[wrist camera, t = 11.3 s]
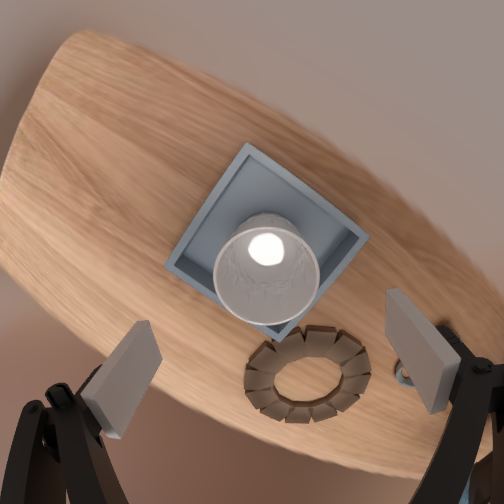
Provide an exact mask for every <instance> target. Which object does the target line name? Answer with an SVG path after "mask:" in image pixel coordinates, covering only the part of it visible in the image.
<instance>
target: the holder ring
mask: <svg viewBox="0 0 504 504" xmlns="http://www.w3.org/2000/svg"><path fill="white" fill-rule="evenodd" d="M272 344H273V345H272ZM272 344H270V343H268V342H267V341H265V342H264V343H263V344H262V345H261V347H260V348H259V349H258V350H257V351H256V352H255V353H254V354H253V355H252V356H251V357H250V358H249V363H248V364H246V373H245V382H244V389H245V394H246V396H247V397H248V399H249V400H250V402H251V403H252V405H253V406H254V407H255V409H260V413H262V414H264V415H266V416H268V417H270V418H273V419H275V420H277V421H279V422H280V421H281V420H282V419H284V418H285V423H306V424H309V421H310V419H311V417H312V419H313V420H314V422H319V421H322V420H325V419H328V418H331V417H334V416H337V411H336V410H339V411H341V412H344V411H345V410H346V409H348V408H349V407H350V406H351V405H352V404H354V403H355V402H356V401H357V400H358V399H360V396H359V394H364V391H365V389H366V387H367V384H368V382H369V380H370V377H371V373H370V371H371V366H370V363H369V359H368V356H367V352H366V350H365V348H364V347H363V346H362V344H361V342H359V341H358V340H356V339H355V338H353V337H352V336H350V335H349V334H347V333H346V332H344V331H343V330H341V331H340V332H339V333H338V334H337V331H336V329H335V328H333V327H317V326H307V327H306V331H305V336H303V334H302V332H301V330H300V328H299V327H297V328H295V329H292V330H291V331H290V332H289V333H288V334H287V336H286V337H285V338H284V339H283V340H282V341H281V342H280V343H279V342H278V341H276V340H274V339H273V338H272ZM304 357H323V358H327V359H329V360H331V361H333V362H334V363H336V364H338V365H339V366H340V367H341V370H342V373H343V374H342V377H341V380H340V383H339V385H338V387H337V388H335V389H334V390H333V391H332V392H331V393H330V394H328V395H327V396H326V397H323V398H320V399H317V400H314V401H311V402H299V401H291V400H289V399H287V398H285V397H283V396H281V395H279V393H278V392H277V390H276V388H275V387H274V385H273V384H274V378H275V375H276V374H277V373H278V372H279V371H280V370H281V369H282V368H283V367H284V366H285V365H286V364H287V363H290V362H293V361H296V360H298V359H301V358H304Z"/></svg>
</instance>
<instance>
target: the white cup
mask: <svg viewBox="0 0 504 504" xmlns="http://www.w3.org/2000/svg"><path fill="white" fill-rule="evenodd" d="M213 281H214V287H215V290H216V293H217V295H218V297H219V299H220V301H221V302H222V304H223V305H224V306H225V308H226V309H227V310H228V311H229V312H231V313H232V314H233V315H234V316H236V317H238V318H239V319H241V320H243V321H246V322H248V323H252V324H256V325H265V326H268V325H277V324H282V323H285V322H288V321H290V320H292V319H294V318H296V317H297V316H299V315H300V314H301V313H303V312H304V311H305V310H306V309H307V308H308V307H309V305H310V304H311V303H312V301H313V299H314V298H315V295H316V293H317V290H318V287H319V281H320V271H319V265H318V262H317V259H316V257H315V255H314V253H313V251H312V249H311V248H310V246H309V245H308V243H307V242H306V240H305V239H304V237H303V236H302V234H301V233H300V232H299V231H298V229H297V228H296V227H295V226H294V225H293V224H292V223H291V221H290V220H288V219H286V218H285V217H283V216H281V215H279V214H278V213H267V212H261V213H259V214H256V215H254V216H251V217H249V218H248V219H247V220H246V221H245V222H244V223H242V224H241V225H240V226H239V227H238V228H237V229H236V231H235V232H234V233H233V234H232V235H231V237H230V238H229V240H228V241H227V242H226V244H225V245H224V246H223V248H222V249H221V251H220V252H219V254H218V256H217V259H216V261H215V265H214V270H213Z"/></svg>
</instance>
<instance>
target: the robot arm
mask: <svg viewBox="0 0 504 504" xmlns="http://www.w3.org/2000/svg"><path fill="white" fill-rule="evenodd" d="M385 335H386V336H387V338H388V340H389V341H390V343H391V345H392V346H393V348H394V350H395V352H396V353H397V355H398V357H399V359H400V360H401V362H402V364H403V366H404V367H405V369H406V371H407V373H408V374H409V376H410V378H411V380H412V382H413V384H414V385H415V387H416V389H417V391H418V393H419V395H420V397H421V398H422V400H423V402H424V404H425V406H426V408H427V410H428V412H429V414H430V415H431V414H434V413H437V412H440V411H442V410H445V409H446V407H447V404H448V401H449V400H450V402H451V403H452V405H453V407H452V410H451V412H450V415H449V417H448V420H447V423H446V426H445V429H444V431H443V434H442V436H441V439H440V441H439V444H438V446H437V448H436V451H435V453H434V455H433V457H432V460H431V462H430V464H429V466H428V468H427V470H426V472H425V474H424V476H423V478H422V480H421V482H420V484H419V486H418V488H417V489H416V491H415V493H414V495H413V497H412V498H411V500H410V502H409V504H504V364H500V365H494V364H493V363H492V362H491V361H490V360H488V359H486V358H483V357H475V356H474V355H473V353H472V352H471V351H470V350H469V349H468V348H467V347H466V346H465V344H464V343H463V342H461V340H460V339H459V338H458V337H457V336H456V334H455V333H454V332H453V331H452V330H451V329H449V328H447V327H445V326H443V325H442V326H438V327H434V326H433V324H432V323H431V322H430V321H429V320H428V319H427V318H426V316H425V315H424V314H423V313H422V312H421V311H420V310H419V309H418V308H417V306H416V305H415V304H414V303H413V302H412V301H411V300H410V299H409V298H408V297H407V296H406V294H405V293H404V292H403V291H402V290H401V289H400V288H394V289H389V290H386V322H385ZM162 360H163V359H162V356H161V353H160V351H159V348H158V345H157V343H156V340H155V337H154V334H153V332H152V329H151V326H150V323H149V320H145V321H137V322H136V323H135V324H134V326H133V327H132V328H131V329H130V331H129V332H128V333H127V334H126V336H125V337H124V338H123V339H122V341H121V342H120V343H119V344H118V346H117V347H116V348H115V349H114V351H113V352H112V353H111V355H110V356H109V357H108V358H107V360H106V361H105V362H104V364H101V365H100V366H98V367H97V368H96V369H94V371H93V372H92V373H91V374H90V376H89V377H88V378H87V379H86V382H84V383H83V385H82V386H81V387H80V388H79V390H78V391H77V392H76V394H75V395H73V393H72V391H71V390H70V388H69V386H68V385H67V384H66V383H57V384H54V385H53V386H51V387H50V388H48V390H47V391H46V393H45V396H46V398H47V400H48V401H49V403H50V404H51V406H52V407H50V408H45V406H44V405H43V403H42V402H41V401H40V400H33V401H30V402H28V403H27V404H26V405H25V406H24V408H23V410H22V413H21V416H20V419H19V422H18V425H17V428H16V431H15V435H14V438H13V442H12V445H11V450H10V453H9V458H8V461H7V466H6V470H5V475H4V480H3V486H2V491H1V496H0V504H66V489H67V493H68V497H69V501H70V504H129V503H128V501H127V499H126V497H125V495H124V492H123V490H122V488H121V486H120V484H119V481H118V479H117V476H116V474H115V472H114V469H113V466H112V464H111V461H110V459H109V456H108V453H107V451H106V448H105V445H104V442H103V439H102V438H101V436H100V435H99V433H100V431H101V430H102V429H103V431H104V432H105V434H106V435H107V436H108V437H111V438H117V439H121V438H122V436H123V434H124V432H125V430H126V428H127V426H128V424H129V423H130V421H131V419H132V417H133V415H134V413H135V411H136V409H137V407H138V405H139V403H140V401H141V399H142V397H143V396H144V394H145V392H146V390H147V388H148V386H149V384H150V382H151V380H152V378H153V377H154V375H155V373H156V371H157V369H158V367H159V365H160V363H161V362H162ZM487 413H491V414H492V431H493V451H492V452H490V453H489V454H488V455H487V456H485V457H484V458H483V459H482V460H480V461H479V462H476V463H475V464H474V462H475V459H476V455H477V452H478V449H479V445H480V442H481V438H482V434H483V431H484V426H485V422H486V418H487ZM42 440H43V442H44V446H43V442H42Z"/></svg>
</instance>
